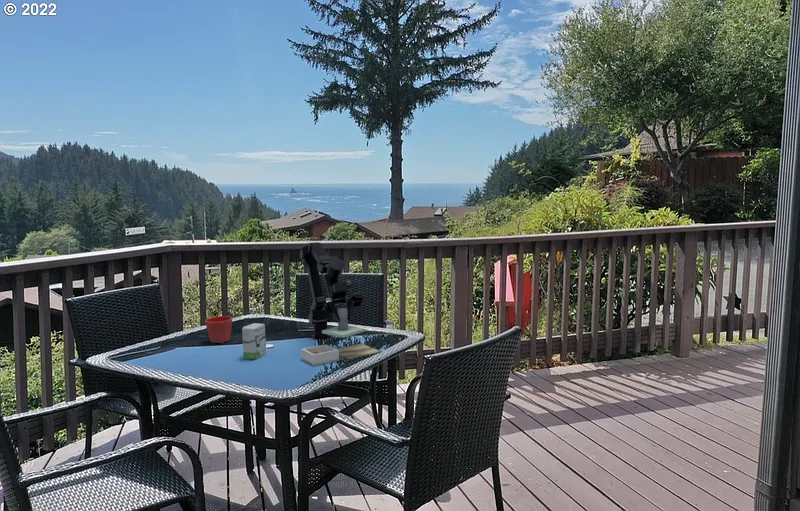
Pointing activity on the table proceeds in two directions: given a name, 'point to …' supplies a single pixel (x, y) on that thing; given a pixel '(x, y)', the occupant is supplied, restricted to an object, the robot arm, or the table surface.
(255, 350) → the ink box
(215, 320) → the flower pot
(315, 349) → the storage box
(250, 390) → the table surface
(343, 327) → the lid
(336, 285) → the robot arm
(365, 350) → the tan wooden square board
